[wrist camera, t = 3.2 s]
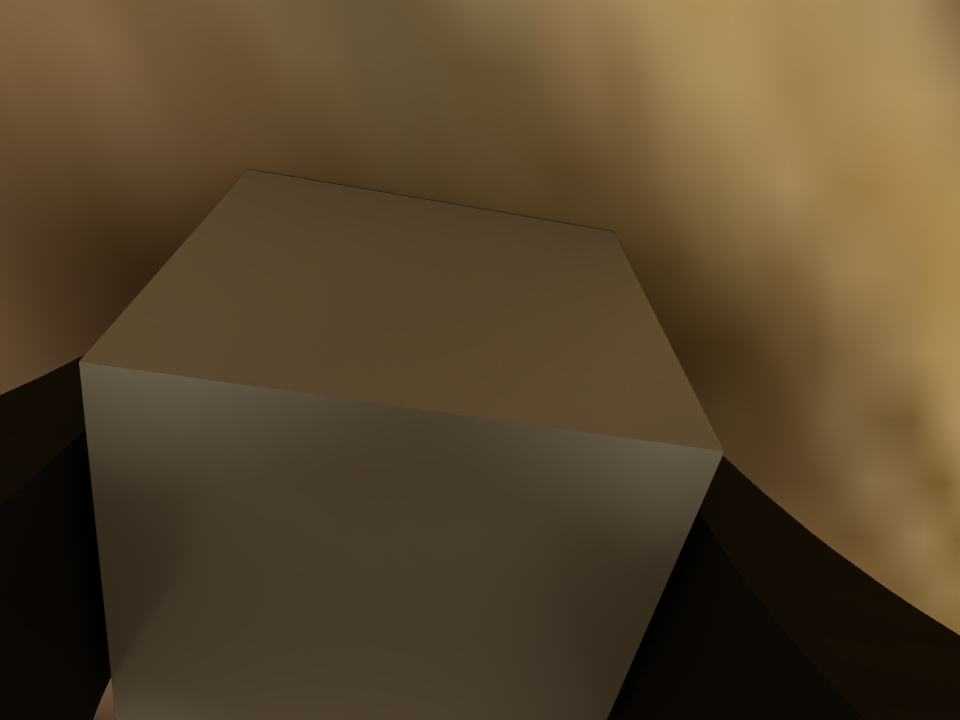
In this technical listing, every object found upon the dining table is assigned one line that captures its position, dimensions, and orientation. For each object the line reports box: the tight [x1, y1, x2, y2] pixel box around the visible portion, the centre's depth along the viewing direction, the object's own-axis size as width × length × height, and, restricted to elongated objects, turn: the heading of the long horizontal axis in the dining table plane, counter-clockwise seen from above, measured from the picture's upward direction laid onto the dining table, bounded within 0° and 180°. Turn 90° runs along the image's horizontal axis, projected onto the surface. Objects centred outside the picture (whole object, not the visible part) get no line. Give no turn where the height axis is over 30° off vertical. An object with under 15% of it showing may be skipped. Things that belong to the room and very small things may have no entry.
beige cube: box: [79, 169, 724, 720], centre depth 9 cm, size 5×5×5 cm
